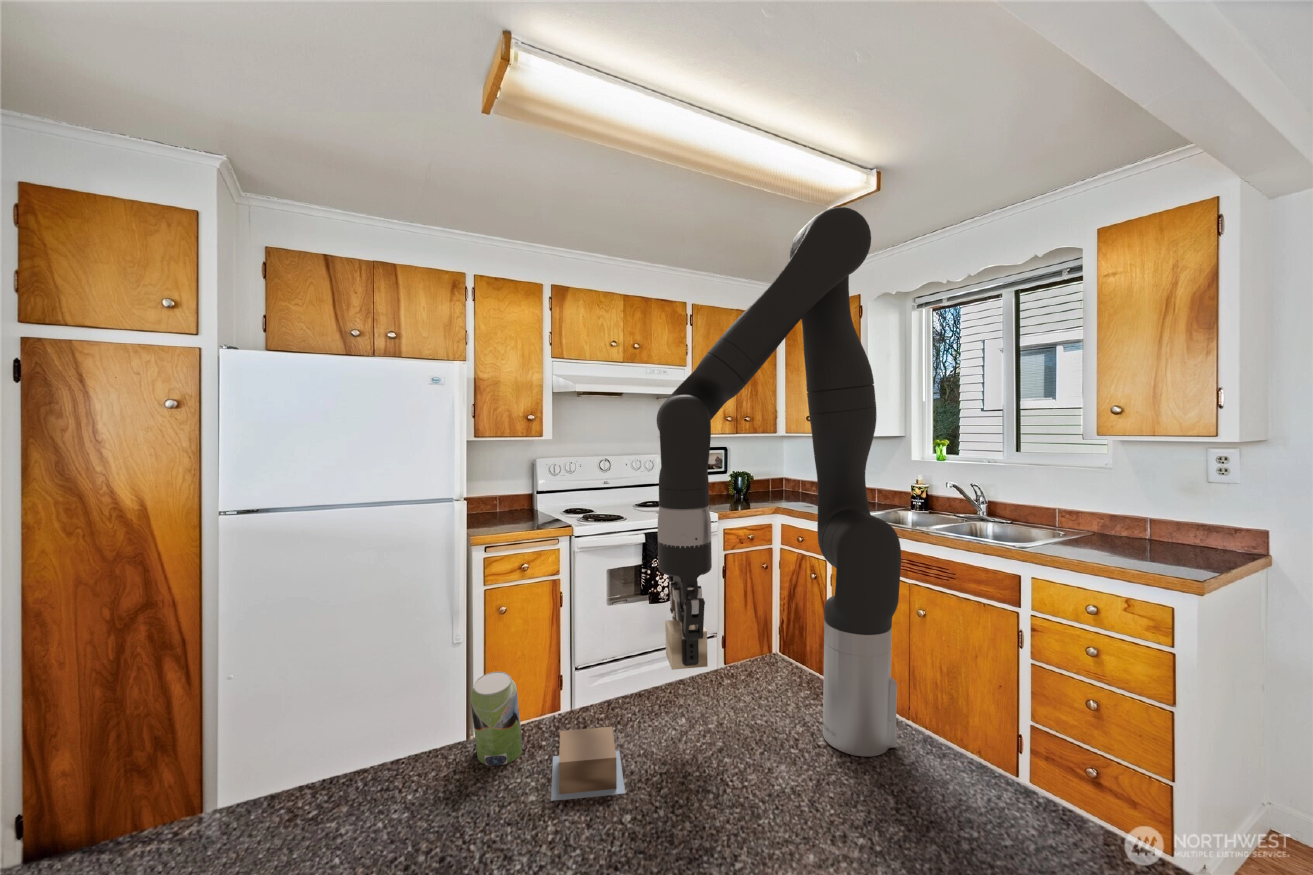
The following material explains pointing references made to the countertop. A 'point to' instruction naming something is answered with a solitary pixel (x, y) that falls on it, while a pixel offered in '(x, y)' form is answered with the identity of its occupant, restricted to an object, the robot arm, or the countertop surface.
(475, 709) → the beverage can
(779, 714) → the countertop surface
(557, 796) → the board
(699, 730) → the countertop surface
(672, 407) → the robot arm
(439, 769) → the countertop surface
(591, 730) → the walnut block
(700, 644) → the maple cube
